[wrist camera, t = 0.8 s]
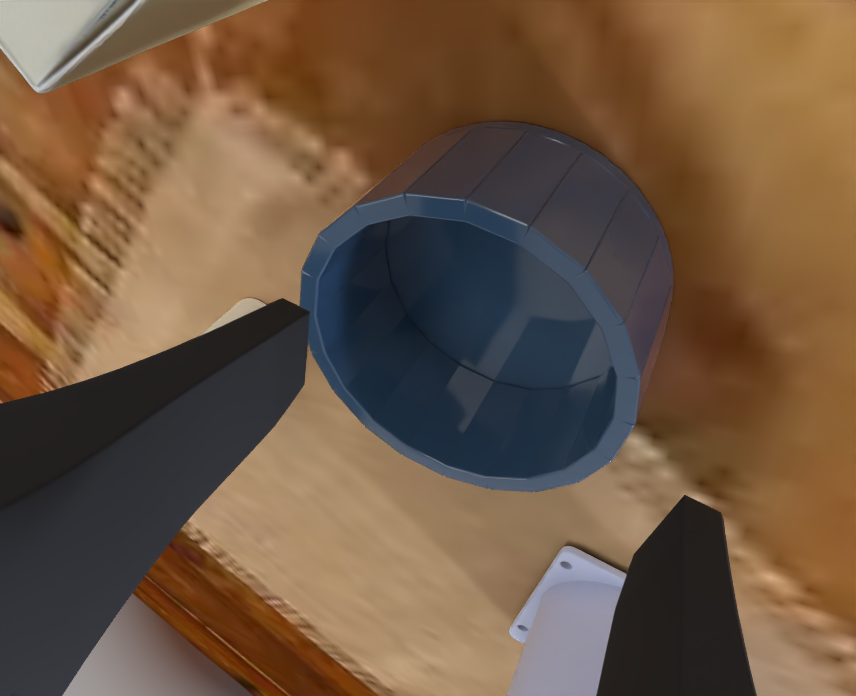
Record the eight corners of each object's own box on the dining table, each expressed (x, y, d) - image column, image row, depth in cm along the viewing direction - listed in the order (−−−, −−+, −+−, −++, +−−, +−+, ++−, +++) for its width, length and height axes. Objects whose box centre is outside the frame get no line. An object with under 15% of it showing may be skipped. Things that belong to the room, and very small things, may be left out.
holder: (602, 431, 24) (563, 538, 21) (366, 319, 26) (294, 400, 23) (739, 199, 17) (714, 302, 14) (402, 70, 19) (307, 133, 16)
